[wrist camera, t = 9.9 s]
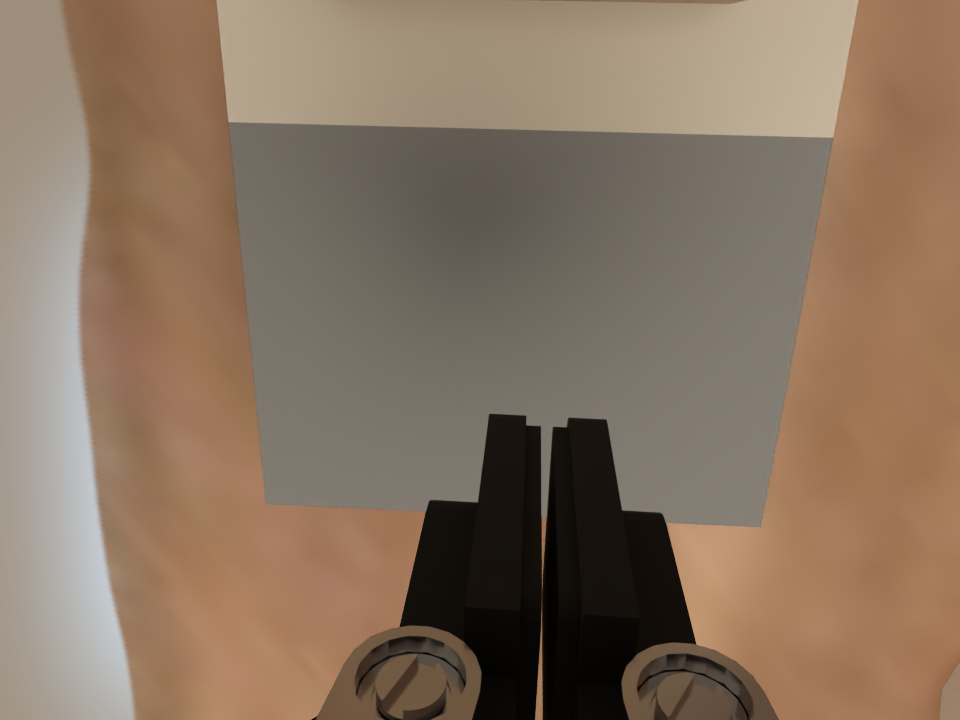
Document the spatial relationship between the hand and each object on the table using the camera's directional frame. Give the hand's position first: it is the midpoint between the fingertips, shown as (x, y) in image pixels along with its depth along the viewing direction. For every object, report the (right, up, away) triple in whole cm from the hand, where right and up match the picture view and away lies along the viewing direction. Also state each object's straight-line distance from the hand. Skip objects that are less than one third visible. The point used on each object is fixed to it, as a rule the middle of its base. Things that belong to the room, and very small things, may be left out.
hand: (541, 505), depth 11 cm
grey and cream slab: (0, +10, +11) cm, 15 cm away
